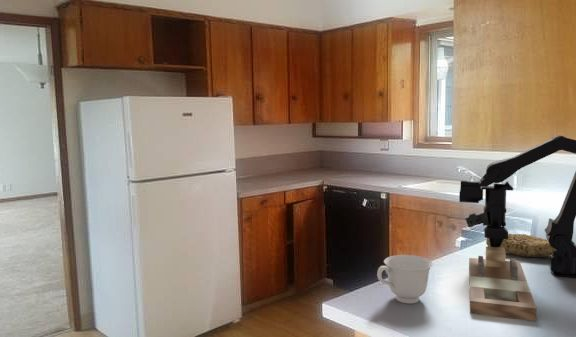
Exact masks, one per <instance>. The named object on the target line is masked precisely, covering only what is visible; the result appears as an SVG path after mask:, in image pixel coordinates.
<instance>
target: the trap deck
mask: <svg viewBox="0 0 576 337" xmlns="http://www.w3.org/2000/svg"><path fill="white" fill-rule="evenodd" d="M477 257H478V258H475V257H469V258H468V275H469V276H468V277H469V279H468V282H469V285H468V286H470V288H469V313H470V314H474V313H477V314H476V315H484V316H492V317H501V318H509V319H517V320H525V321H533V322H536V321H537V307H536V303H535V300H534V298H533V294H532V292H531V289H530V287H529V284H528V281H527V278H526V275H525V273H524V269H523V266H522V264H521V262H520V261H516V258H512V257H511V258H509V260H505V268H500V267H489V266H486V261H485V260H486V258H484V256H483V255H478V256H477Z"/></svg>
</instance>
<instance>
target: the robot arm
mask: <svg viewBox="0 0 576 337" xmlns="http://www.w3.org/2000/svg"><path fill="white" fill-rule="evenodd" d="M559 151H565V152H567V153H571V154H574V155H576V139H573V138H568V137H566V136H564V135H555V136H553V137H552V138H550V139H548V140H546V141H544V142H542V143H539V144H537V145H536V146H534V147H532V148H529V149H527V150H525V151H523V152H521V153H519V154H516V155H514V156H512V157H507V158H503V159H499V160H497V161H493V162H491V163H489V164H488V165H487V166H486V169H485V173H484V175H483V176H482V177H480V179H479V181H473V180H472V181H471V180H464V179H462V180H460V187H459V188H460V189H459V194H458V195H459V203H462V204H463V203H467V204H479V203H480V202H481V201H483V200H484V206H483V210H480V211H475V212H472V213H467V214H466V215H464V219H465V222H466V224H467V227H468V228H473V227H474V226H479V225H482V226H485V227H484V228H483V234H484V237H483V238H489V240H490V246H491V247H500V246H501V244H502V242H503V240H504V239H508V234H509V231H508V228H506V226H507V223H506V213H507V191H513V190H514V187H513V186H512V185H511V184H510V183H509V180H508V181H506V180H507V179H508V178H510V177H512V176H513V175H514V174H516V173H517V172H518V171H520V170H521V169H522V168H525V167H527V166H529V165H531V164H533V163H535V162H538V161H539V160H542V159H544V158H546V157H548V156H551V155H553V154H555V153H557V152H559ZM504 181H505V183H502V182H504ZM491 185H492V186H491ZM568 187H569V188H568V190H567V193H566V195H565V198H564V200H563V203H562V205H561V208H560V210H559V213H558V215H557V216H556V218H554V219H553V218H548V222H547V225H546V227H545V229H544V232H545V237H546V240H548V242H549V244H550V245H551V247H553V248H554V249H556V251H552V255H551V256H549V271H550V272H551V273H552V275H553V276H556V277H567V278H576V243H575V242H574V241H573V236H574V225H575V220H576V171H575V172H574V175H573V177H572V180H571V182H570V184H569V186H568ZM484 190H485V193H484ZM484 194H485V196H484ZM484 197H485V198H484Z"/></svg>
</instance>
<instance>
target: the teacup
mask: <svg viewBox="0 0 576 337" xmlns="http://www.w3.org/2000/svg"><path fill="white" fill-rule="evenodd" d="M383 263H384V264H385V265H380V266H379V267H378V269H377V273H376V275H377V279H378V281H379V282H380V283H382V284H384V285H388V286H389V288H390V291H391V292H392V293H393V294H394V295H396V301H398V302H399V303H402V304H408V305H409V304H416V303H418V302H419V301H420V297H421V296H423V295H424V294H425V292H426V291H427V287H428V278H429V274H430V269H431V267H433V266H434V265H433V261H431V260H430V259H428V258H426V257H423V256H419V255H415V254H414V255H413V254H395V255H390V256H388V257H386V258H385V259H384V260H383ZM383 271H385V273H386V275H387V278H388V280H386V279H384V278H383V277H382V276H383V275H382V274H383Z"/></svg>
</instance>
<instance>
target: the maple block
mask: <svg viewBox="0 0 576 337" xmlns="http://www.w3.org/2000/svg"><path fill="white" fill-rule="evenodd" d="M506 256H507V253H506V252H505V248H500V247H488V246H485V259H486V260H485V261H486V266H489V267H500V268H505V261H506Z"/></svg>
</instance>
